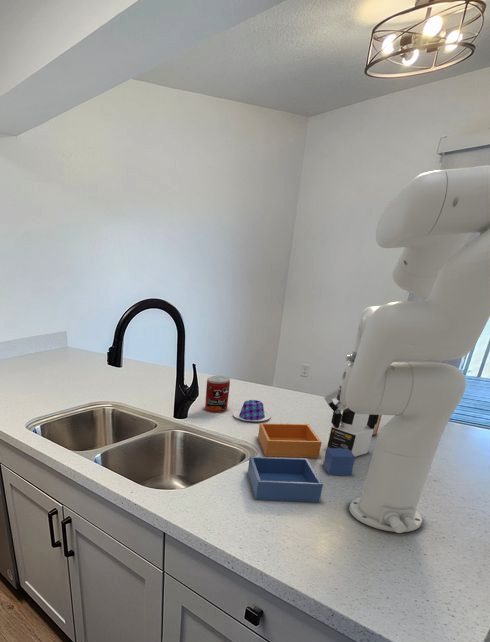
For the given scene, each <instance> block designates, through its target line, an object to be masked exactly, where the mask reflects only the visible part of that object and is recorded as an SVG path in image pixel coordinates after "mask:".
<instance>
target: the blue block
mask: <svg viewBox="0 0 490 642" xmlns="http://www.w3.org/2000/svg"><path fill="white" fill-rule="evenodd" d="M355 459H356V457H355V456H354V455H353V454H352V453H351V451H350V450H349V449H341V448H327V447H326V449H325V455H324V459H323V463H322V467H323V468H324V470H325V471H326V473H327V474H328V475H335V476H338V475H339V476H351V475H352V472H353V468H354V463H355Z"/></svg>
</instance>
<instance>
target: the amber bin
mask: <svg viewBox="0 0 490 642" xmlns="http://www.w3.org/2000/svg"><path fill="white" fill-rule="evenodd" d="M257 434H258V435H257V439H258V442H259V444H260V446H261V449H262V451H263V454H264V457H275V458H307V459H309V458H311V459H318V458H320V452H321V447H322V441H321V439H320V438H319V436H318V435H317V433H316V432H315V431H314V429H313V428H312V427H311V425H310V424H309V423H266V422H265V423H263V422H261V423H259V428H258V433H257Z"/></svg>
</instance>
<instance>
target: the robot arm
mask: <svg viewBox="0 0 490 642" xmlns="http://www.w3.org/2000/svg"><path fill="white" fill-rule="evenodd" d="M475 233H477V234H479V235H478V236H477V237H475V238H473V239H472V240H470V241H469V242H468V243H467V241H468V240H469V238H470V237H471V235H472V234H475ZM375 239H376V243H377V245H378V246H379V247H380V248H382V249H396V248H397V249H398V248H403V250H402V251H401V253H400V256H399V258H398V260H397V261H396V263H395V266H394V268H393V270H392V279H393V281H394V283H395V284H396V285H397V286H398V287H399V288H400V289H402V290H403V291H405V292H408V293H411V294H413V295H415V296H417V297H420V298H421V299H423V300H407V301H406V300H404V301H403V300H402V301H400V300H399V301H392V302H387V303H385V304H382V305H373V306H372V305H371V306H367V307H366V308H364V309H363V311H362V312H361V315H360V319H359V324H358V328H357V333H356V337H355V342H354V346H353V351H351V354H346V355H345V358H344V359H345V362H349V363H348V364H347V365H346V367H345V369H344V371H343V373H342V376H341V379H340V382H339V385H338V388H336V389H335V390H333V391H331V392H328V394H325V395H324V396H323V398H324V400H325V402H326V404H327V405H328V407H329V408H330V409H331V410H332V416H331V425H332V426H334V427H335V428H339V426H340V424H341V423H340V422H341V417H342V412H343V409H344V408H345V407H346V406H348V408H349V409H350V410H351V411H353V412H356V413H360V414H370V415H369V418H368V422H367V425H368V426H369V427H370V428H371V429H374V426H375V425H376V424H377V421H378V417H379V415H382V416H393V417H391V419H389V420H388V421H387V422H386V423H385V424H384V425H383V427H382V428H380V431H378V432H379V433H377V434H378V435H377V438H376V440H375V444H374V448H373V451H372V456H371V459H370V463H369V466H368V470H367V473H366V477H365V481H364V485H363V488H362V492H361V495H360V497H356V498H354V499H353V500H351V501H350V502H349V503H350V504H349V506H348V507H349V512H350V514H351V515H352V516H353V517H354V518H355V519H356V520H357V521H359V522H361V523H362V524H364V525H367V526H369V527H371V528H374V529H378V530H380V531H381V530H382V531H386V532H391V533H397V534H402V533H408V532H413V531H416V530H418V529H419V528H420V527H421V525H422V523H423V516H422V515H421V513H420V512H419V511H418V510H417V507H418V505H419V501H420V499H421V495H422V493H423V491H424V487H425V485H426V482H427V479H428V476H429V473H430V470H431V468H432V467H431V466H432V465H433V461H434V458H435V455H436V453H437V450H438V447H439V444H440V442H441V439H442V436H443V434H444V432H445V429H446V427H447V425H448V423H449V421H450V420H451V418H452V416H453V414H454V413H455V411H456V409H457V408H458V406H459V404H460V403H461V401H462V399H463V397H464V394H465V392H466V388H467V380H466V379H467V378H466V376H465V373H464V372H463V371H462V370H461V369H460V368H458V367H457V366H456V365H455V366H454V365H452V364H448V363H444V362H443V361H453V360H455V361H456V360H460V359H461V358H464V357H465V356H467V355H469V353H471V351H472V350H473V349H474V347H475V346H476V345H477V343H478V341H479V339H480V337H481V336H482V334H483V331H484V329H485V327H486V325H487V323H488V321H489V319H490V164H486V165H485V164H484V165H479V166H469V167H468V166H467V167H459V168H448V169H437V170H431V171H427V172H423V173H420V174H418V175H416V176H415V177H414V178H412V179H411V180H410V181H408V183H406V184H405V185H404V186H403V187H401V188H400V189H399V190H398V191H397V192H395V194H394V195H393V196H392V197H391V198H390V199H389V201H388V202H387V204H386V205H385V207H384V208H383V209H382V213H381V214H380V217H379V218H378V221H377V225H376V230H375ZM466 243H467V244H466ZM334 398H336V400H337V402H336V403H335V402H334V401H333V399H334Z"/></svg>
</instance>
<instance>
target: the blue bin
mask: <svg viewBox="0 0 490 642" xmlns="http://www.w3.org/2000/svg"><path fill="white" fill-rule="evenodd" d="M247 475H248V479H249V482H250V485H251V489H252V493H253V495H254V499H255V500H259V501H261V500H262V501H280V502H281V501H282V502H299V503H301V502H302V503H320V500H321V495H322V491H323V486H324V484H323V482H322V480H321V479H320V477H319V475H318V473H317V472H316V470H315V469H314V466H313V465H312V464H311V462H310V460H309V458H307V457H273V456H249V459H248V467H247Z"/></svg>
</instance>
